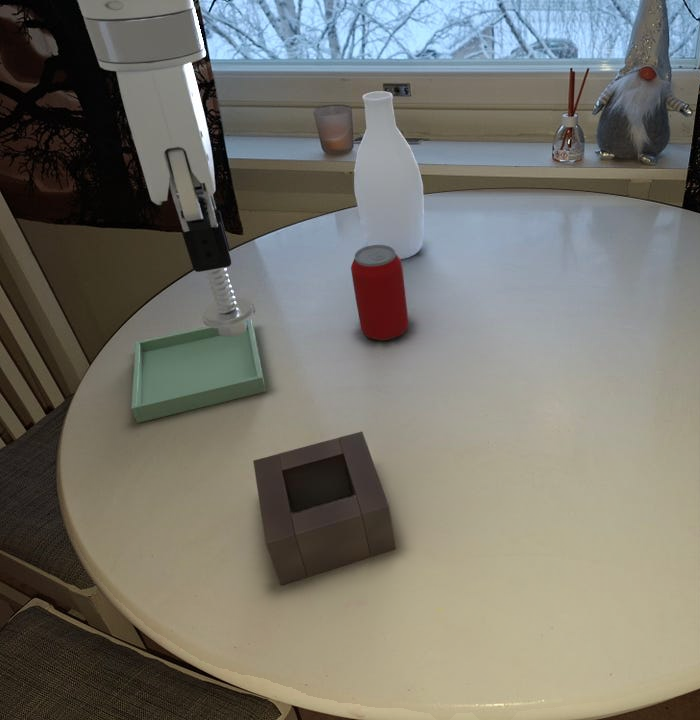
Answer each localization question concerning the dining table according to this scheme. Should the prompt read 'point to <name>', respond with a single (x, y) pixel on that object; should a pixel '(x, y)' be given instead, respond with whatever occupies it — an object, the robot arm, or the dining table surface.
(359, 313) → the beverage can
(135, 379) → the tray
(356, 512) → the holder
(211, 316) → the screw
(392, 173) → the bottle
